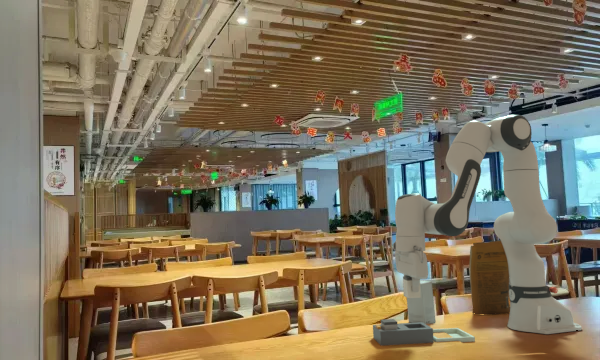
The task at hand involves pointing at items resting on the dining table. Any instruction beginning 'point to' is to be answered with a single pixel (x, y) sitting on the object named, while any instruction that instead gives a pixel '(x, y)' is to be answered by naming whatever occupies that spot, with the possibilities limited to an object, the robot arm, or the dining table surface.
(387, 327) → the twin plug
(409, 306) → the skincare box
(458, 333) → the tray
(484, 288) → the pancake mix bag
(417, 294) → the plug
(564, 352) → the dining table surface
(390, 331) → the grey socket block
